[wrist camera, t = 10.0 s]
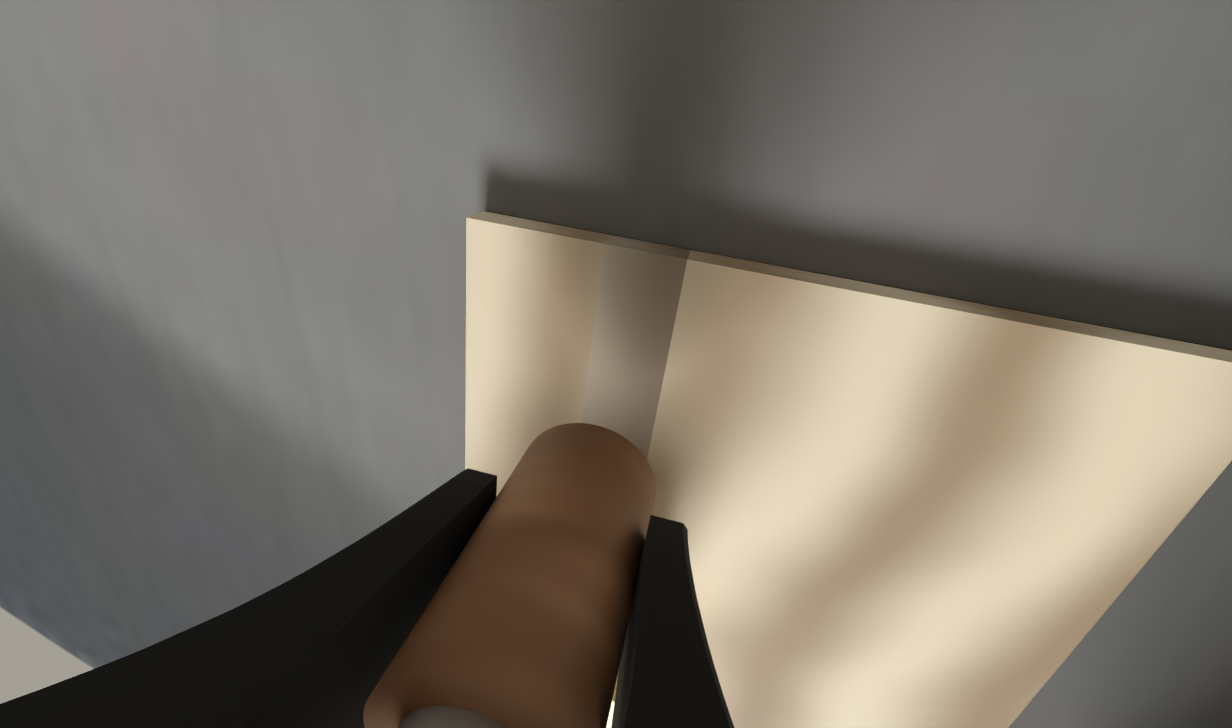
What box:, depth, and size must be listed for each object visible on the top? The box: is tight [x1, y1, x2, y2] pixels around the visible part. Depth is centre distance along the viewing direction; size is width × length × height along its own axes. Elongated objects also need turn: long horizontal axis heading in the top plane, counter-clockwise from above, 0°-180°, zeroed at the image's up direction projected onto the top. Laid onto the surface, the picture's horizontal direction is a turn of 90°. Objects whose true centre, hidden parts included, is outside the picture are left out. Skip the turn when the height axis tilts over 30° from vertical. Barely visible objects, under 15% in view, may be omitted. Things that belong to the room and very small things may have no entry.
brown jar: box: [363, 423, 656, 728], centre depth 8 cm, size 3×3×6 cm
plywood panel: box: [465, 211, 1232, 728], centre depth 17 cm, size 18×21×1 cm
